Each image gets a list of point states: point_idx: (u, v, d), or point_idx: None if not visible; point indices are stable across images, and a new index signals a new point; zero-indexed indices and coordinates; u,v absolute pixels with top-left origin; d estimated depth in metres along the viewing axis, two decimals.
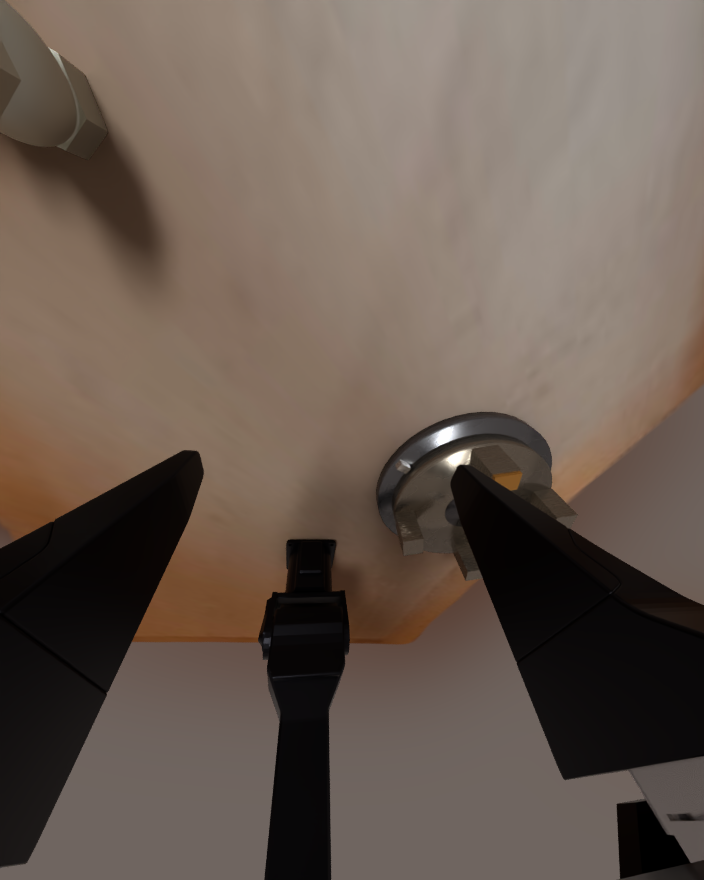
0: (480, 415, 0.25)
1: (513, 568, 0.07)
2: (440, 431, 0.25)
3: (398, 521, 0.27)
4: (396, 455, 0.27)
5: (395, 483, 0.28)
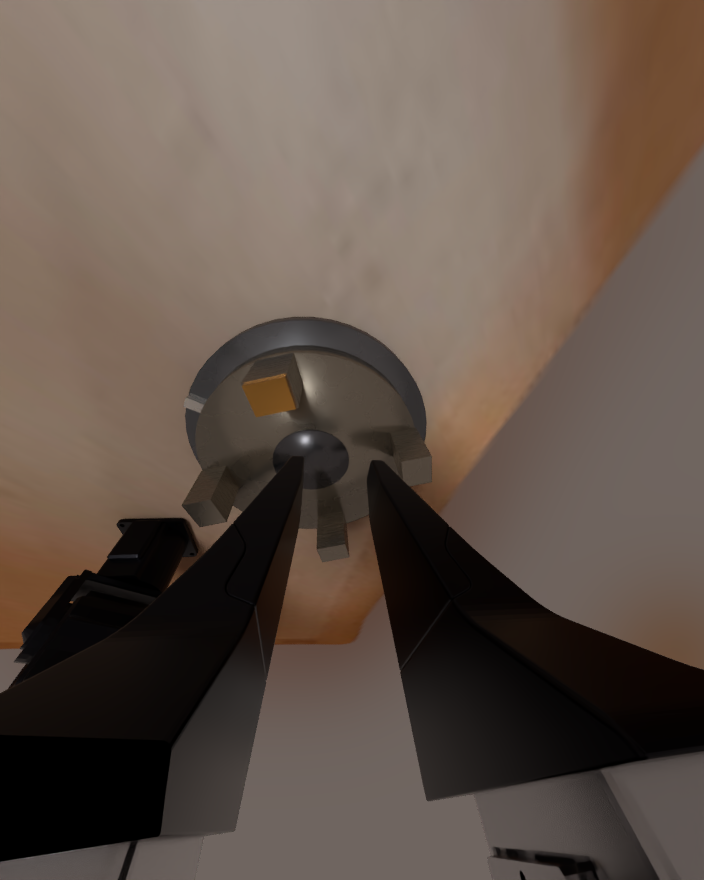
0: (286, 319, 0.18)
1: (397, 570, 0.07)
2: (228, 345, 0.17)
3: (197, 480, 0.20)
4: None
5: None
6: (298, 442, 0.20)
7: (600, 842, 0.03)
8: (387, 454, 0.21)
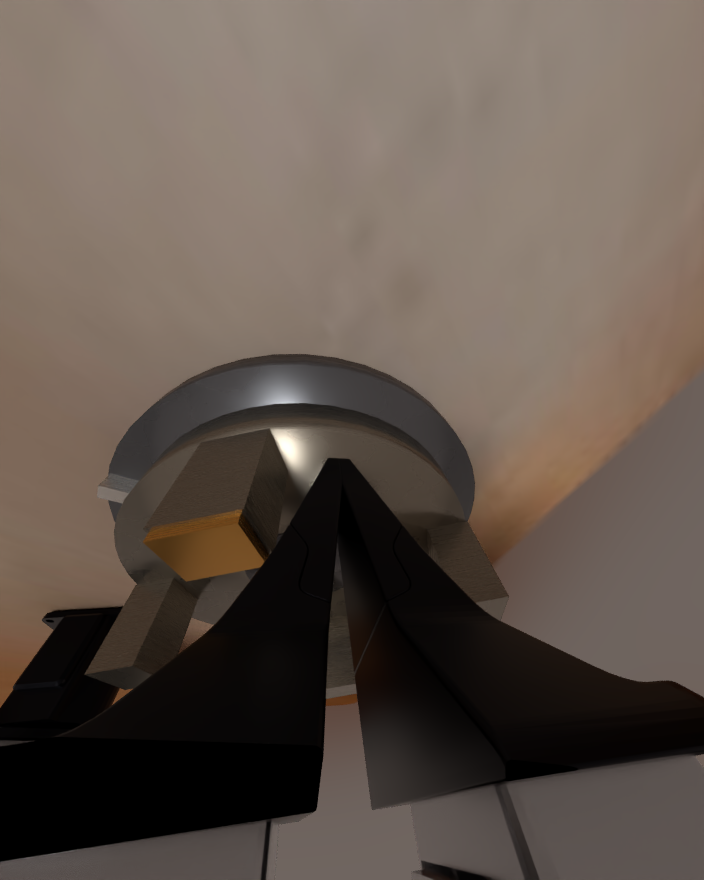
0: (260, 360, 0.10)
1: (352, 570, 0.06)
2: (162, 404, 0.10)
3: (124, 608, 0.12)
4: None
5: None
6: None
7: (496, 863, 0.02)
8: None
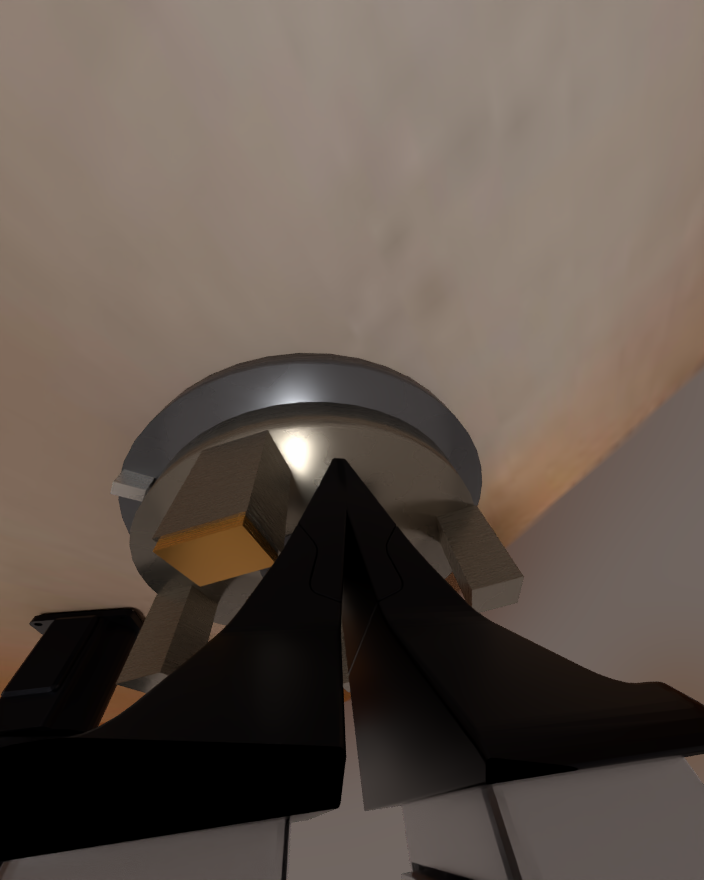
0: (286, 358, 0.11)
1: (346, 570, 0.06)
2: (185, 399, 0.10)
3: (148, 618, 0.13)
4: None
5: None
6: None
7: (483, 866, 0.02)
8: (431, 541, 0.14)
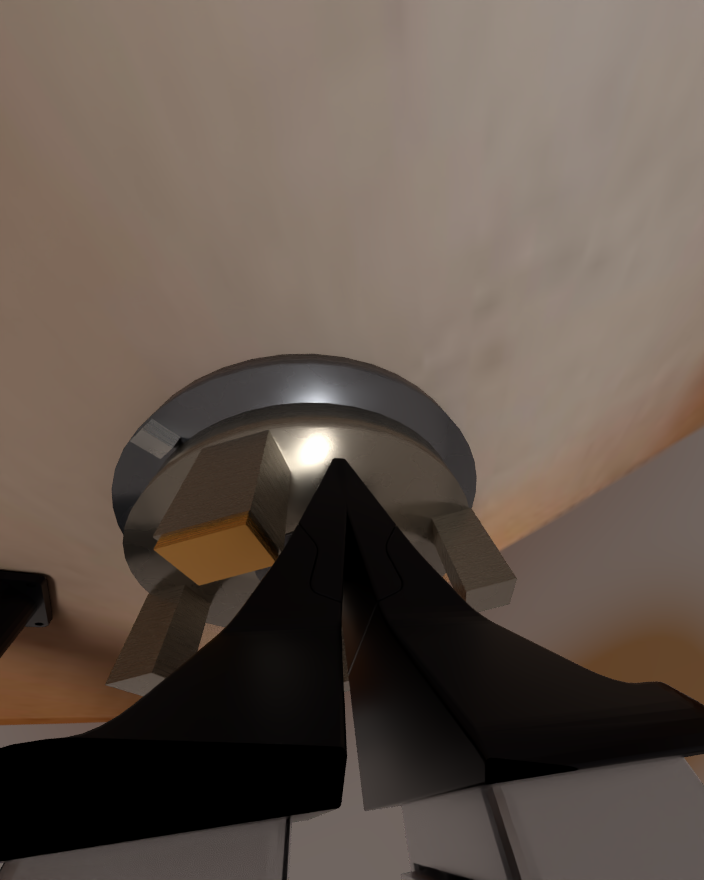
0: (364, 365, 0.11)
1: (346, 570, 0.06)
2: (259, 371, 0.10)
3: (139, 618, 0.13)
4: None
5: None
6: None
7: (482, 867, 0.02)
8: (426, 542, 0.14)
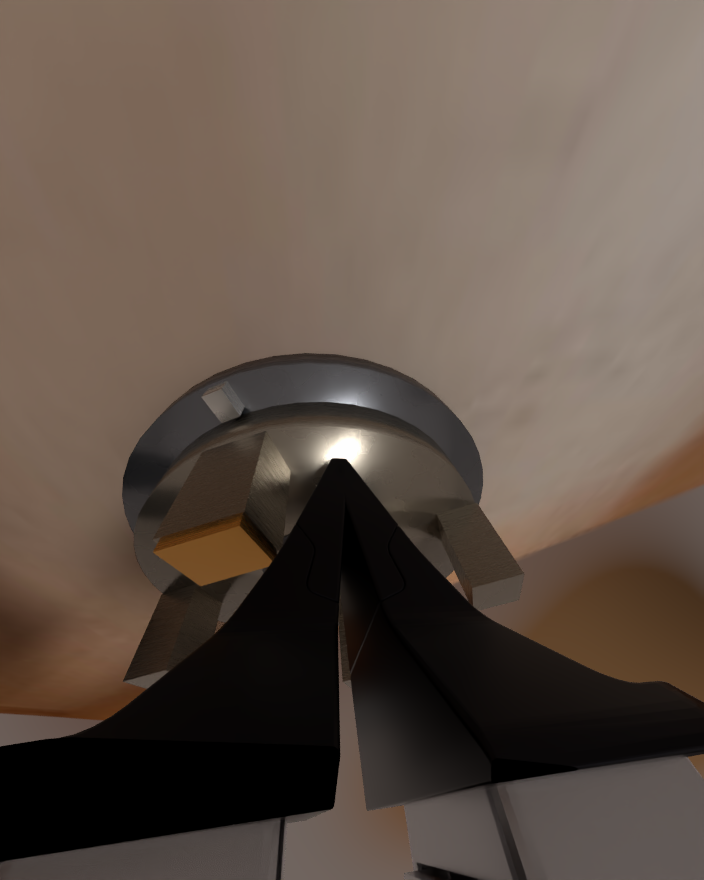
0: (430, 392, 0.12)
1: (348, 570, 0.06)
2: (350, 369, 0.10)
3: (153, 617, 0.13)
4: (227, 372, 0.11)
5: (191, 440, 0.11)
6: None
7: (486, 866, 0.02)
8: (433, 539, 0.14)
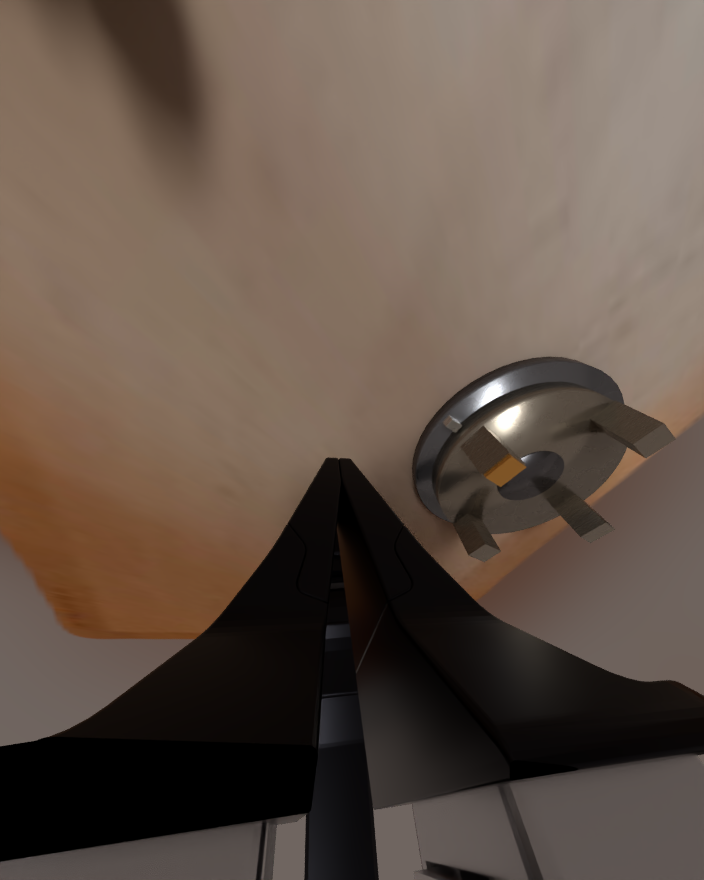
0: (548, 359, 0.21)
1: (353, 570, 0.06)
2: (501, 378, 0.21)
3: (458, 532, 0.26)
4: (442, 411, 0.23)
5: (439, 447, 0.24)
6: None
7: (500, 863, 0.02)
8: (596, 434, 0.22)
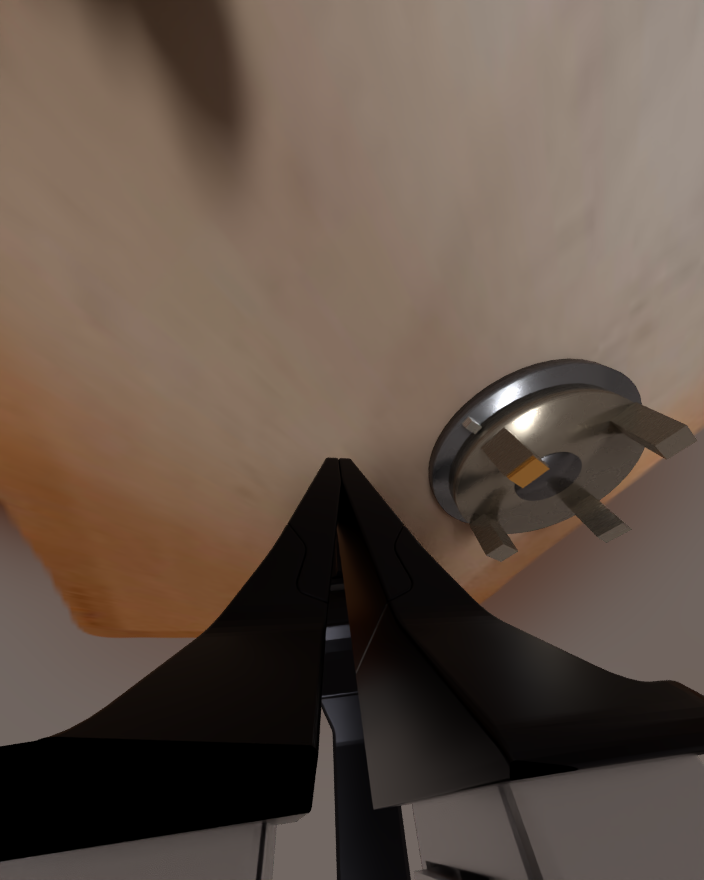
0: (568, 361, 0.21)
1: (353, 570, 0.06)
2: (521, 380, 0.21)
3: (475, 533, 0.27)
4: (461, 412, 0.23)
5: (457, 448, 0.24)
6: None
7: (500, 863, 0.02)
8: (615, 435, 0.22)
